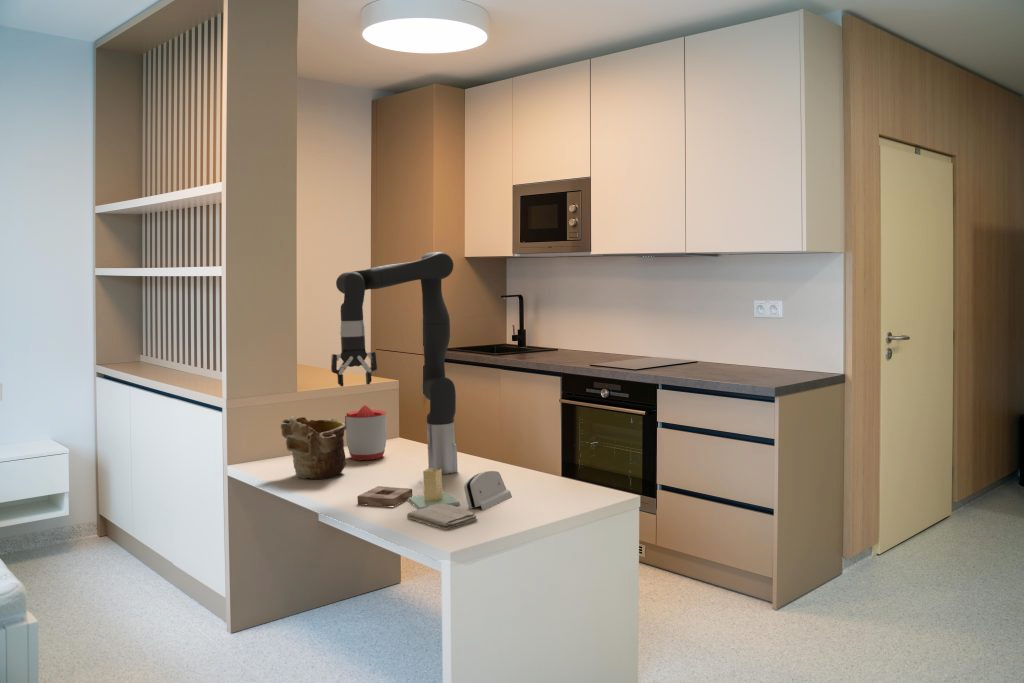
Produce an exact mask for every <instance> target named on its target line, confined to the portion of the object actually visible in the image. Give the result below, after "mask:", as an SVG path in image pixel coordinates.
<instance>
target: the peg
mask: <svg viewBox="0 0 1024 683" xmlns="http://www.w3.org/2000/svg"><path fill="white" fill-rule="evenodd" d="M422 476H423V496H424V501H431V502H437V501H439V500H441V499H442V498H443V497H442V493H443V479H442V478H443V475H442V470H441V469H438V468H427V469H425V470H423V475H422Z"/></svg>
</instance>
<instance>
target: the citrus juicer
mask: <svg viewBox="0 0 1024 683" xmlns="http://www.w3.org/2000/svg"><path fill="white" fill-rule="evenodd" d="M386 415H387V412H386V410H380V409H371V408H370V407H369V406H368V405H366V404H365V405H362V407H361V408H360V409H359V410H355V411H354V410H353V411H350V412H346V415H345V416H344V421H345V422H343V423H345V424H346V428H345V441H346V442H345V443H346V446H347V449H348V453H349V456H350V457H351V459H352V460H355V461H369V460H370V461H371V460H373V459H376V460H378V459H380V458H382V457H383V456H384V454H385V449H386V445H387V434H388V433H387V416H386Z"/></svg>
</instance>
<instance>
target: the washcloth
mask: <svg viewBox="0 0 1024 683" xmlns="http://www.w3.org/2000/svg"><path fill="white" fill-rule="evenodd" d="M406 518H407V519H408V518H409V519H408V520H411V519H414V520H417V521H416V522H418V521H420V522H419V523H421V522H423V523H422V524H424V523H426V524H425V525H428V524H430V525H429V526H432V525H433V526H432V527H435V526H436V527H435V528H439V529H441V530H445V531H448V530H452V529H457V528H460V527H463V526H465V525H469V524H472V523H475V522H477V521H478V518H477V516H476V515H475V512H472V511H470V510H467V509H466V508H465V507H458V506H452V505H447V504H443V503H438V504H434V505H430V506H429V507H426V508H424V509H418V508H417V509H415V510H412V511H409V512H408V513H407V514H406ZM414 520H413V521H414Z"/></svg>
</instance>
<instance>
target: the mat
mask: <svg viewBox="0 0 1024 683" xmlns="http://www.w3.org/2000/svg"><path fill="white" fill-rule="evenodd" d="M442 497H443V498H442V499H441V500H439V501H437V502H431V501H424V495H417V496H413V497H410V498H408V500H409V501H410V502H411V503H410V502H409V501H408V500H407V501H408V502H409V503H410V504H412V505H413V504H414V505H415V506H416V507H417V508H416V507H415V506H414V505H413V506H414V507H415V508H416V509H418V508H419V509H424V508H426V507H429V506H430V505H434V504H438V503H443V504H447V505H452V506H456V507H458V506H460V505H461V504H460V500H458V499H456V498H455V497H454V496H452V495H451V494H449V493H447V492H442Z"/></svg>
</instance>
